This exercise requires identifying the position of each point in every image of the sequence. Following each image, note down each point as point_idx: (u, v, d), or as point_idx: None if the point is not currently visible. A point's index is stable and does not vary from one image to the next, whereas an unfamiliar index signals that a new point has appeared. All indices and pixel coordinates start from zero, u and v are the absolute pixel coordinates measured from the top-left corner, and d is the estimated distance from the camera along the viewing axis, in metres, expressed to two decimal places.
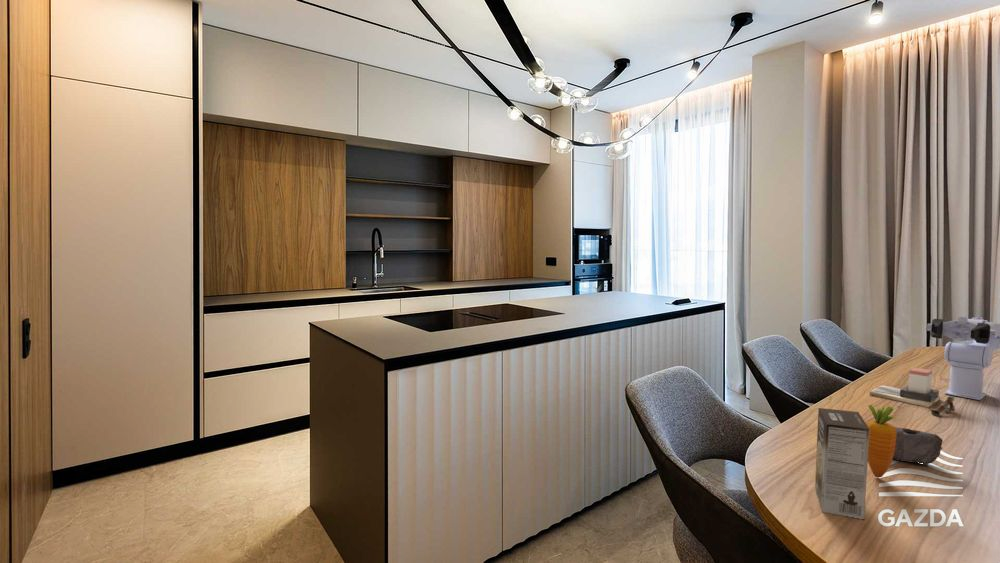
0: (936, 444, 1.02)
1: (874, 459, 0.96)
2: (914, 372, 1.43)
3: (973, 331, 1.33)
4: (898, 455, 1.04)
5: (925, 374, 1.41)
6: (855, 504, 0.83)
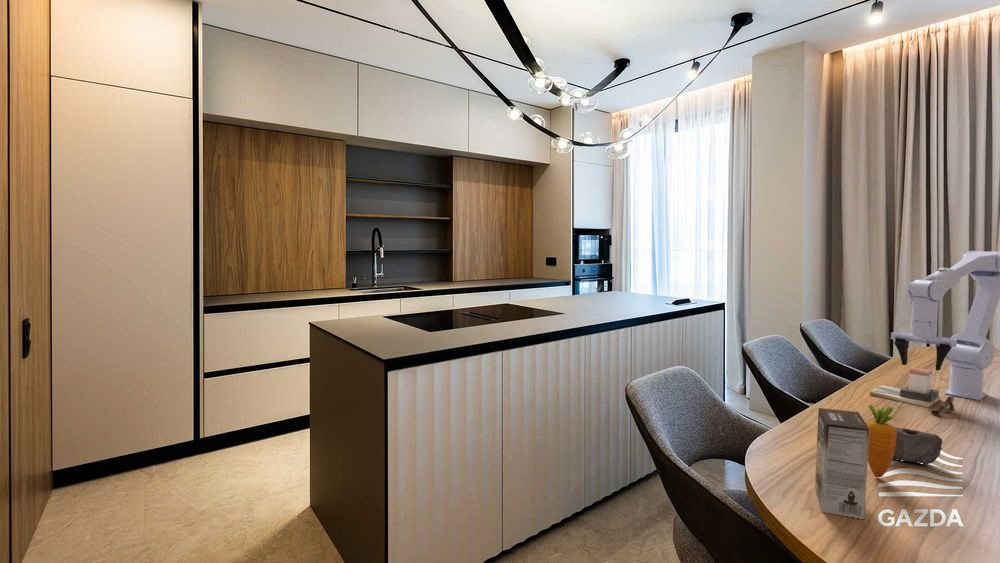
0: (936, 444, 1.02)
1: (874, 459, 0.96)
2: (914, 372, 1.43)
3: (938, 370, 1.40)
4: (898, 455, 1.04)
5: (925, 374, 1.41)
6: (855, 504, 0.83)
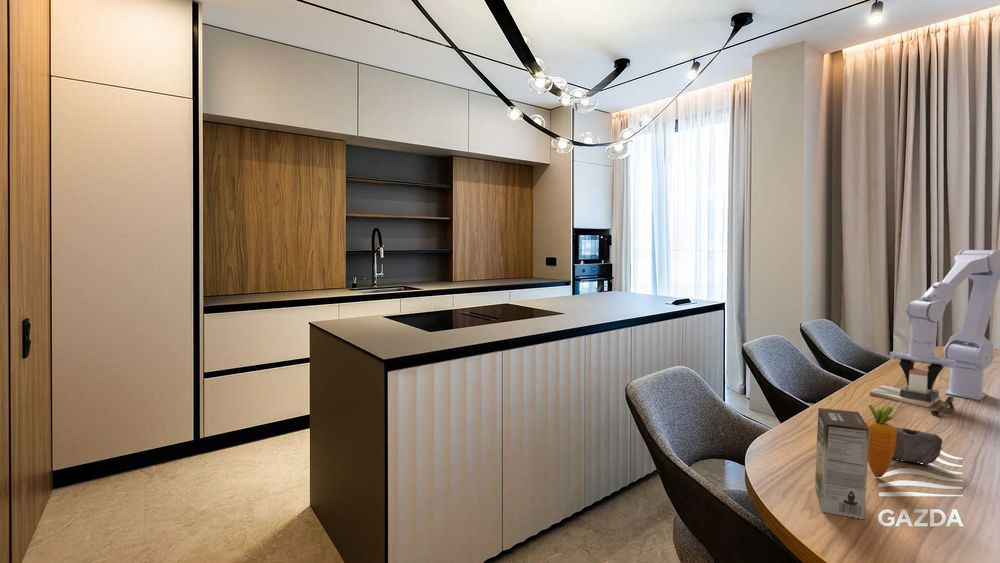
0: (936, 444, 1.02)
1: (874, 459, 0.96)
2: (914, 372, 1.43)
3: (929, 389, 1.42)
4: (898, 455, 1.04)
5: (925, 374, 1.41)
6: (855, 504, 0.83)
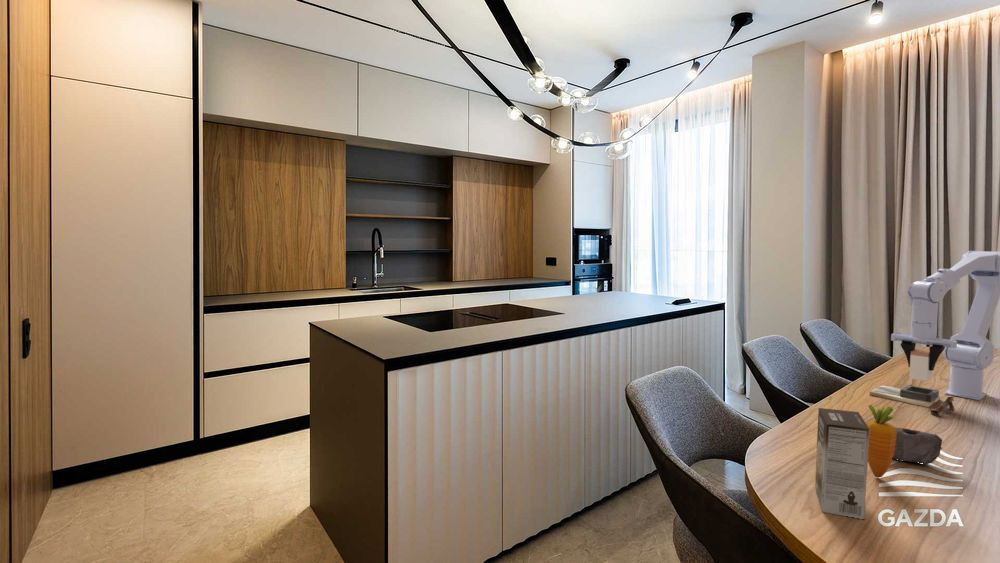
0: (936, 444, 1.02)
1: (874, 459, 0.96)
2: (915, 353, 1.42)
3: (931, 370, 1.41)
4: (898, 455, 1.04)
5: (926, 355, 1.41)
6: (855, 504, 0.83)
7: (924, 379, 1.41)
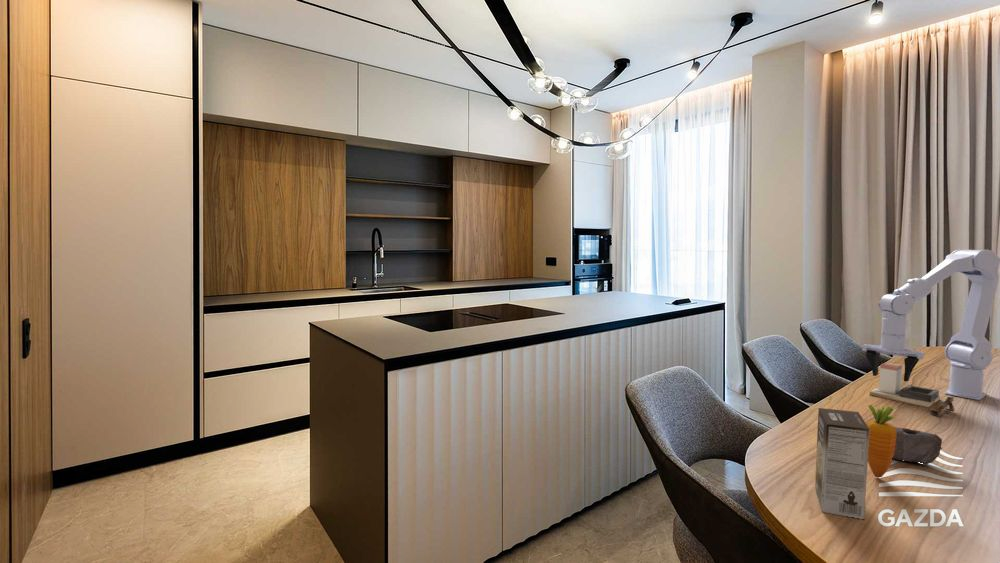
0: (936, 444, 1.02)
1: (874, 459, 0.96)
2: (884, 367, 1.49)
3: None
4: (898, 455, 1.04)
5: (895, 368, 1.47)
6: (855, 504, 0.83)
7: (893, 391, 1.47)
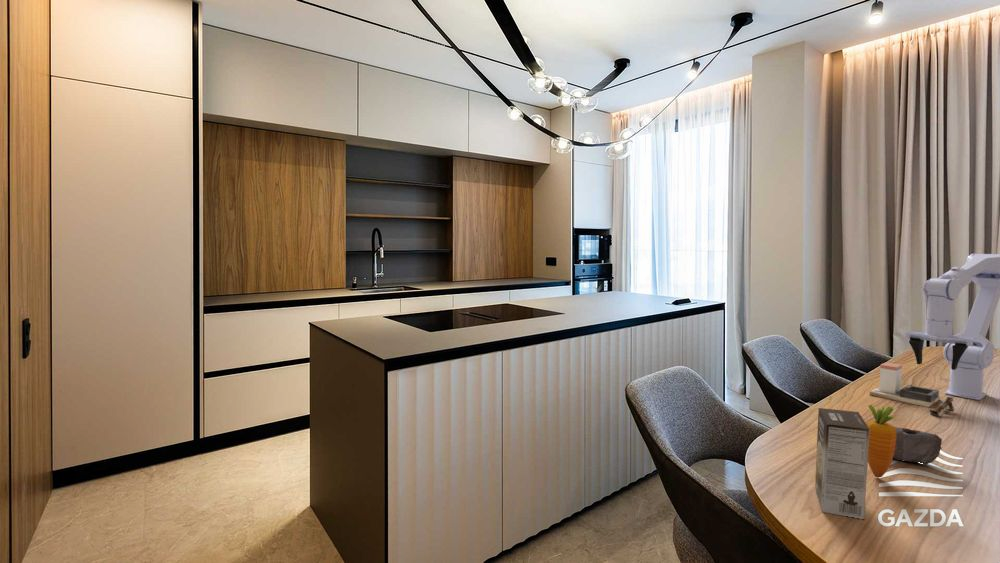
0: (935, 444, 1.02)
1: (874, 459, 0.96)
2: (884, 367, 1.49)
3: (954, 369, 1.39)
4: (898, 455, 1.04)
5: (895, 368, 1.47)
6: (855, 504, 0.83)
7: (893, 391, 1.47)
